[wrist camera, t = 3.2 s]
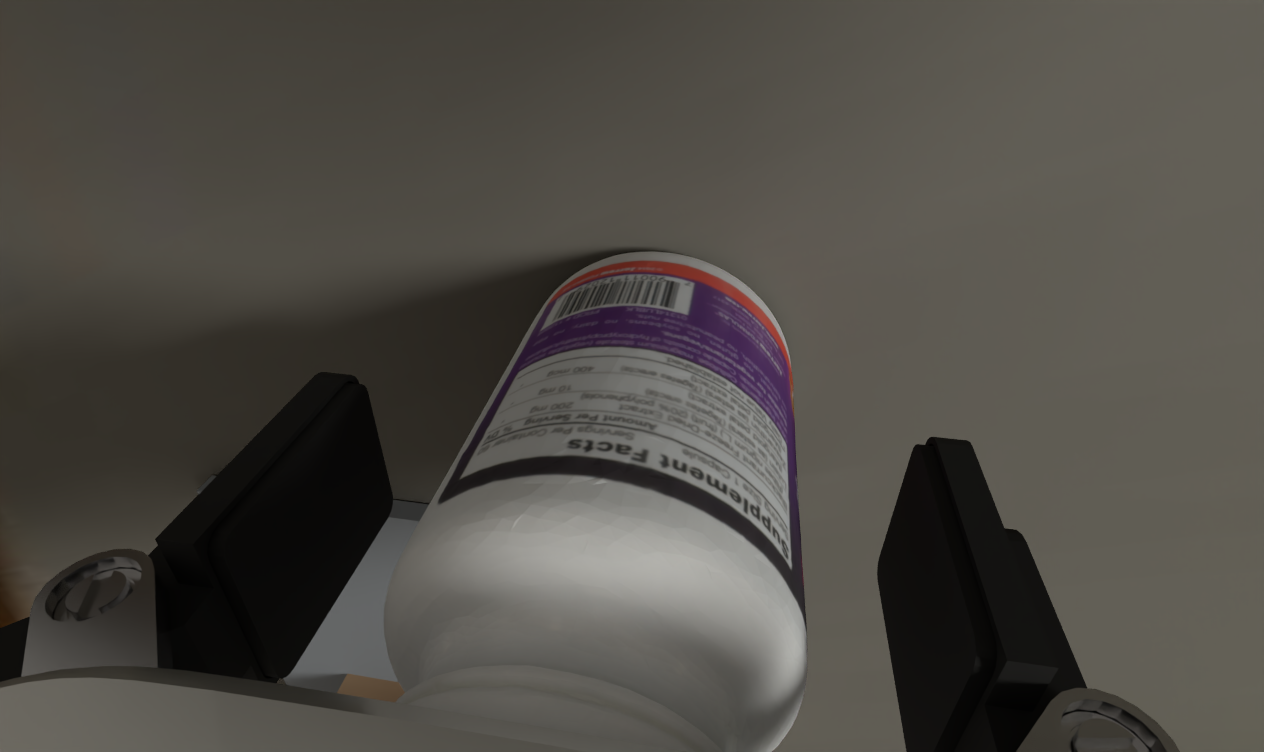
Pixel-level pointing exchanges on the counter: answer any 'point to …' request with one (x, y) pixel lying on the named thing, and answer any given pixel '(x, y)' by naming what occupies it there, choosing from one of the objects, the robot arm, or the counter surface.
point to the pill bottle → (620, 524)
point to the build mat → (358, 612)
